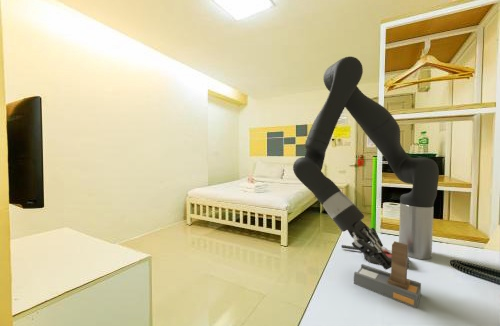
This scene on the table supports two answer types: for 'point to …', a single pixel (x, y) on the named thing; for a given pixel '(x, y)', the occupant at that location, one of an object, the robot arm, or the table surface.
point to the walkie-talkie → (373, 259)
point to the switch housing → (387, 285)
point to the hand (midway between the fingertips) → (389, 267)
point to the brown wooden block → (399, 266)
